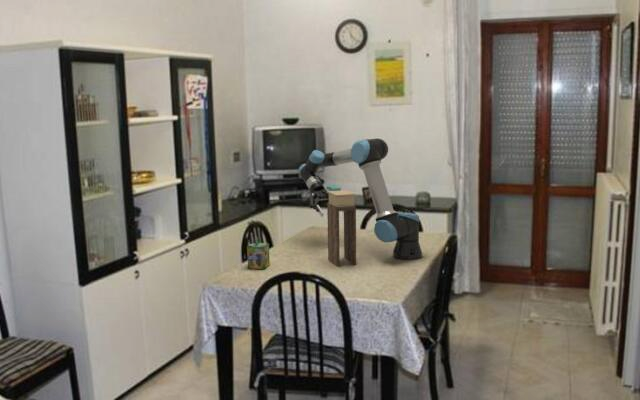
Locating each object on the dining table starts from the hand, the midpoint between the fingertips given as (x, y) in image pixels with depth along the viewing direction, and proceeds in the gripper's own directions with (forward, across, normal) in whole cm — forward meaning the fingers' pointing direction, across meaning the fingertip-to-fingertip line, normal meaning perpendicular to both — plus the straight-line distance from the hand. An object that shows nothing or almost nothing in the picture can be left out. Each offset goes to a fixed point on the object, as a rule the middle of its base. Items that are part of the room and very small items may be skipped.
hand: (333, 212), depth 341 cm
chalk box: (+15, +50, -10) cm, 53 cm away
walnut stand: (+30, +10, -3) cm, 32 cm away
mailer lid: (+5, +6, +22) cm, 23 cm away
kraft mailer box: (+12, +8, +21) cm, 25 cm away
